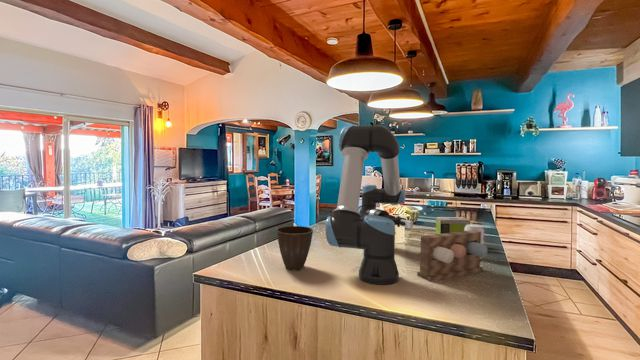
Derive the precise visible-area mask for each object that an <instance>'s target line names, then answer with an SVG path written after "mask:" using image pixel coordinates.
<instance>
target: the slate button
mask: <svg viewBox="0 0 640 360" xmlns="http://www.w3.org/2000/svg"><path fill="white" fill-rule="evenodd" d="M467 253H469V254H473V255H476V256H479V257H483V258H484V257H486V256H487V253H488V247H487V245H486V244H485V243H484V244H480V243H476V242H473V241H467Z"/></svg>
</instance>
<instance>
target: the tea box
mask: <svg viewBox="0 0 640 360" xmlns="http://www.w3.org/2000/svg"><path fill="white" fill-rule="evenodd" d="M467 224H471V220H470V219H468V218H466V217H463V216H459V217H458V216H457V217H454V216H436V218H435V234H443V233H452V232H460V231H464V229H465V227H466V225H467Z"/></svg>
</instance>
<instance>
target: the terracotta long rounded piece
mask: <svg viewBox="0 0 640 360" xmlns="http://www.w3.org/2000/svg"><path fill="white" fill-rule="evenodd" d="M450 250H452V251H453V253H454V257H457V258H463V257H464V256H465V253H466V249H465V247H464V246H462V245H459V244H455V243H453V244H450Z"/></svg>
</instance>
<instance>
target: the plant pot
mask: <svg viewBox="0 0 640 360" xmlns="http://www.w3.org/2000/svg"><path fill="white" fill-rule="evenodd" d="M313 232H314V229H313V228H312V227H308V226H304V225H303V226H301V225H290V226H282V227H279V228H277V229H276V235H277V243H278V248H279V251H280V255H281V259H282V261H283V264H284V267H285V269H287V270H288V271H300V270H302V269H303V268H304V266H305V264H306V262H307V258H308V255H309V253H310V248H311V243H312V240H313Z"/></svg>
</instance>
